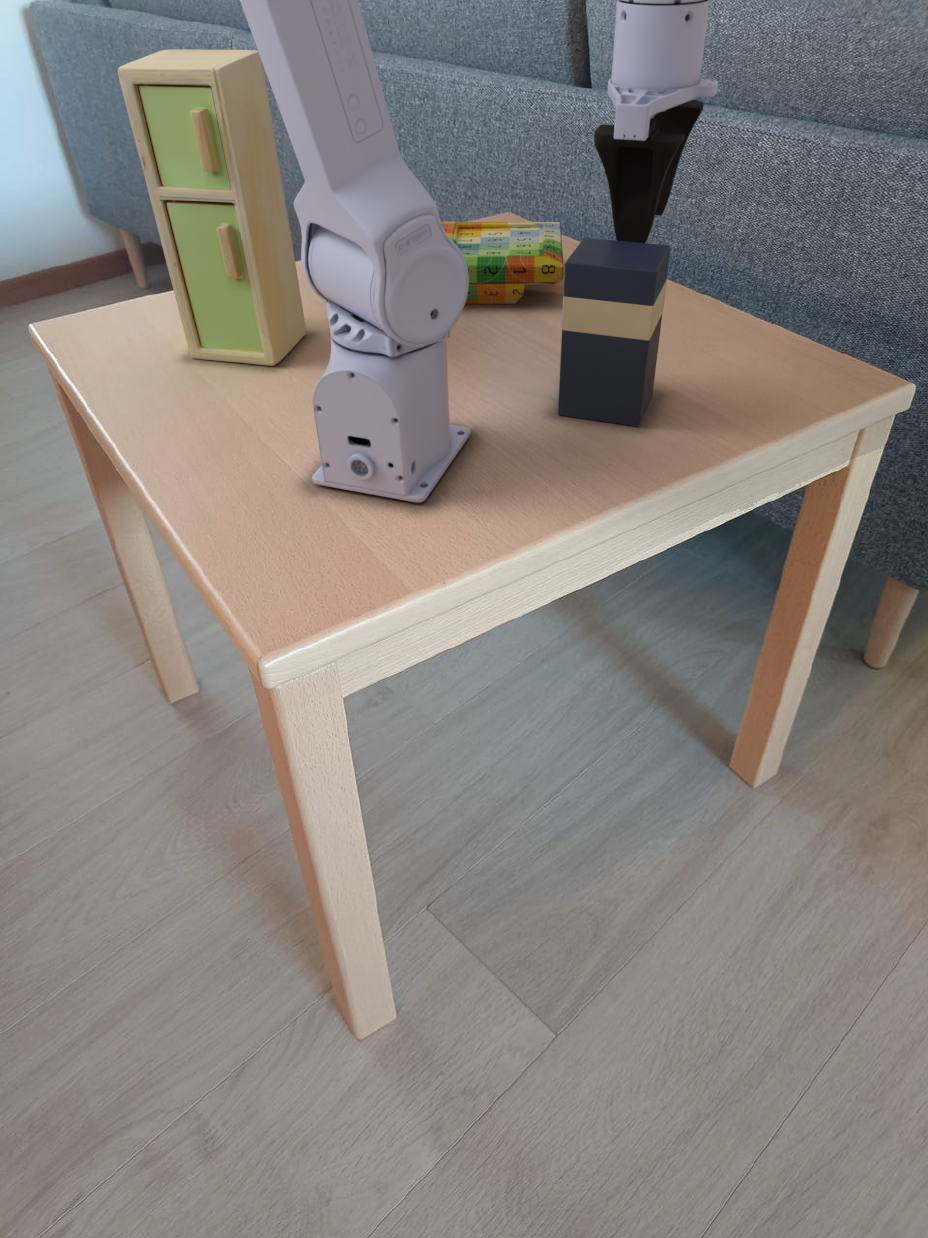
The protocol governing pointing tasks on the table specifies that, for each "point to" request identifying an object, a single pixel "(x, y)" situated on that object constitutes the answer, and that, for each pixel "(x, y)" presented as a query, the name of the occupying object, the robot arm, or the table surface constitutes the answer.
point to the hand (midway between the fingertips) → (640, 226)
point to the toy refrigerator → (217, 200)
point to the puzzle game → (507, 257)
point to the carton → (611, 329)
